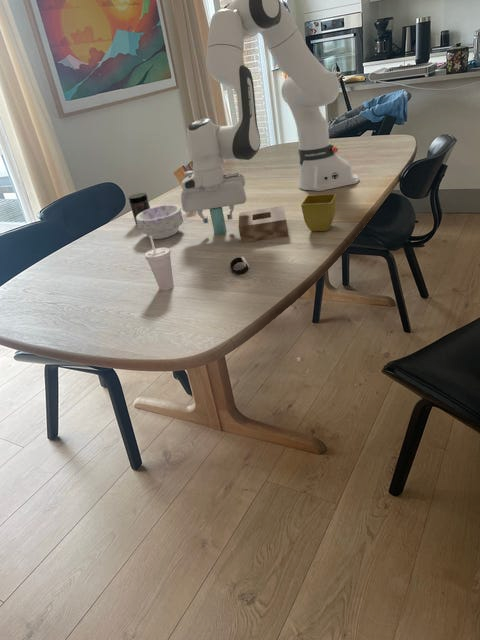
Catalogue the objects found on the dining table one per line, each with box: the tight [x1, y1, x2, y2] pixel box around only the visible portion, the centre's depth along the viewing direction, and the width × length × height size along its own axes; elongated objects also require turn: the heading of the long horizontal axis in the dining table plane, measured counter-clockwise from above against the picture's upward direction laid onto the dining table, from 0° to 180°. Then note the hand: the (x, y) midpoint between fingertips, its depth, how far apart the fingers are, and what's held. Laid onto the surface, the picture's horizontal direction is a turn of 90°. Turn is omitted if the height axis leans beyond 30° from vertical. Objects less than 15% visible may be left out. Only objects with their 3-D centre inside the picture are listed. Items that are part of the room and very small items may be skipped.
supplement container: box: [127, 192, 151, 226], centre depth 173 cm, size 7×7×10 cm
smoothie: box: [144, 236, 175, 291], centre depth 117 cm, size 6×6×14 cm
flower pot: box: [300, 193, 337, 232], centre depth 137 cm, size 9×9×9 cm
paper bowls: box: [136, 204, 184, 240], centre depth 158 cm, size 15×15×8 cm
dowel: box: [209, 207, 227, 235], centre depth 150 cm, size 4×4×8 cm
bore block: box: [237, 205, 289, 244], centre depth 144 cm, size 14×14×5 cm
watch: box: [229, 256, 250, 276], centre depth 122 cm, size 8×5×4 cm, turn 17°
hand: (218, 221), depth 150 cm, fingers open, 6 cm apart
